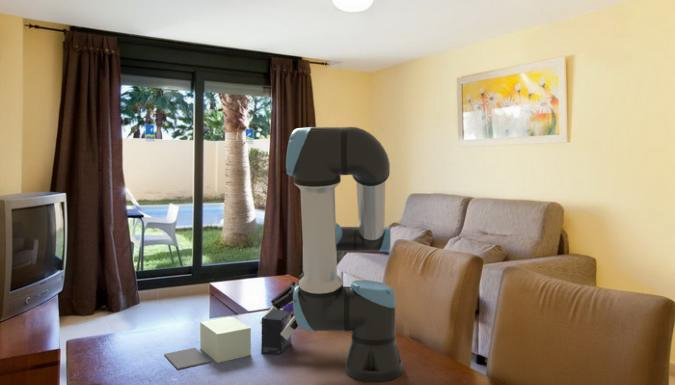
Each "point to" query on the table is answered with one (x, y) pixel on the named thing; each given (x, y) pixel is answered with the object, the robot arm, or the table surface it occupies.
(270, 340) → the small box
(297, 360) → the table surface
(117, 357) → the table surface
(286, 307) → the game controller
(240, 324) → the step
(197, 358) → the mat
